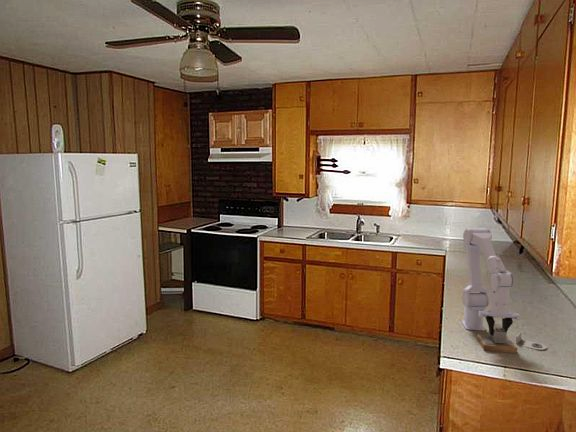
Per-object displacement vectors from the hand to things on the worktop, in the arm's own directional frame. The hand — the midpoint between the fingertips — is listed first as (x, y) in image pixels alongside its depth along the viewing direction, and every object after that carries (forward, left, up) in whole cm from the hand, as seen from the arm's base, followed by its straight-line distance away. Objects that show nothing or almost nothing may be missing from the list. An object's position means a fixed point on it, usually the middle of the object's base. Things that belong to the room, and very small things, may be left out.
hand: (497, 334), depth 163 cm
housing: (0, 0, -2) cm, 2 cm away
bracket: (-4, +14, -5) cm, 15 cm away
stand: (0, 0, -5) cm, 5 cm away
